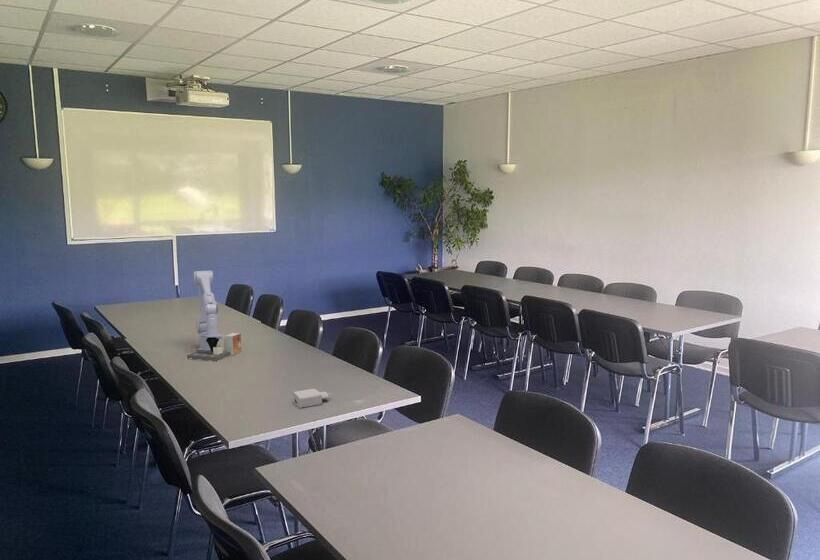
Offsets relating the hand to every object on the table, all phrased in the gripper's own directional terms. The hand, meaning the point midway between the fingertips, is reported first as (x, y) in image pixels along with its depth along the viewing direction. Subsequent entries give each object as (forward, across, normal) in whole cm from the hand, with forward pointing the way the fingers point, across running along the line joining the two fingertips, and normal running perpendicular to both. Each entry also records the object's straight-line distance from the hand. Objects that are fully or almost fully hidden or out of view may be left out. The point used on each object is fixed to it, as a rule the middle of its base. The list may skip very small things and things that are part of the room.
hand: (213, 351), depth 315 cm
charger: (+4, +83, -50) cm, 97 cm away
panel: (+3, -3, 0) cm, 4 cm away
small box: (+3, +5, +10) cm, 12 cm away
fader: (+1, +3, 0) cm, 3 cm away
